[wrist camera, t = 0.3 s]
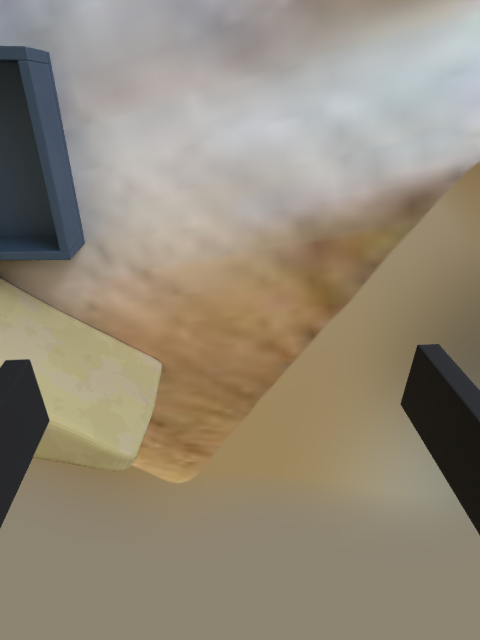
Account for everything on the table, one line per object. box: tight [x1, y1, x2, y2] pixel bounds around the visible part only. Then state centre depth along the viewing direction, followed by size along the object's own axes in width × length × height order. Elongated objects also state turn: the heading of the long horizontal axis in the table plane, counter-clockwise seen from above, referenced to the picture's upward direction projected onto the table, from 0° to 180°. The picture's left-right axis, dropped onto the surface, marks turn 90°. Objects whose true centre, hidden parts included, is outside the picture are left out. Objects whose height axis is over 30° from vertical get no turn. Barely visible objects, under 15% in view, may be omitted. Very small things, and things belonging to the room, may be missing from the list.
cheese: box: [0, 278, 162, 471], centre depth 37 cm, size 22×10×15 cm, turn 63°
